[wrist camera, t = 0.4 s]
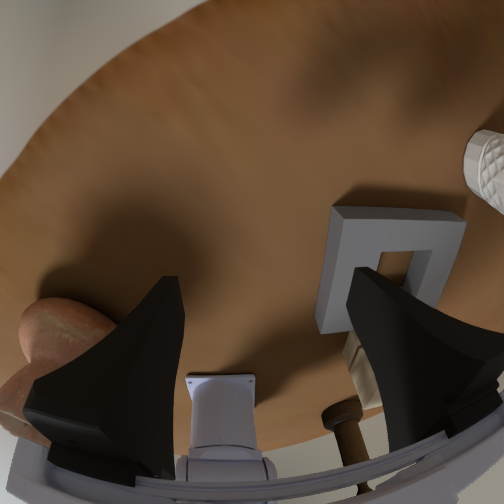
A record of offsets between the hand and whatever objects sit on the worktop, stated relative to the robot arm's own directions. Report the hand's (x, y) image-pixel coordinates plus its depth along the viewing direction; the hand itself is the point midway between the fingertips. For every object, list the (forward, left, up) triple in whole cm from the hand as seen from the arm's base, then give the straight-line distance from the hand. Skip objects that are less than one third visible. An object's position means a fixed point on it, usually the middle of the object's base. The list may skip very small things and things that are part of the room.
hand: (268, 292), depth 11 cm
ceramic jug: (-14, +17, -10) cm, 24 cm away
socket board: (-6, -13, -10) cm, 17 cm away
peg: (-16, -13, -10) cm, 22 cm away
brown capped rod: (-34, -15, -10) cm, 38 cm away
